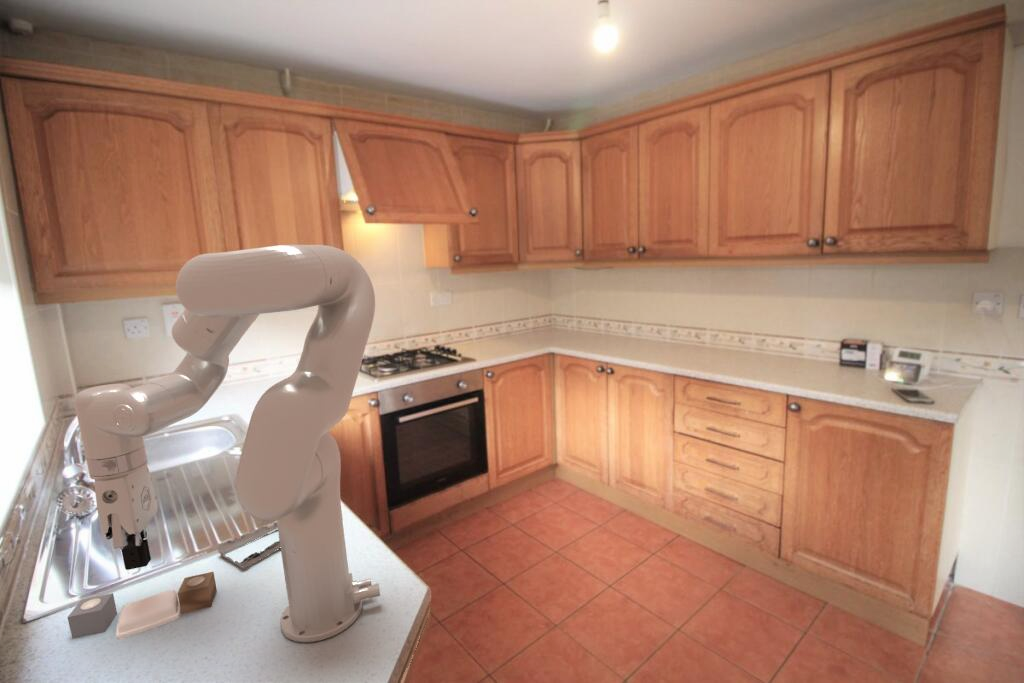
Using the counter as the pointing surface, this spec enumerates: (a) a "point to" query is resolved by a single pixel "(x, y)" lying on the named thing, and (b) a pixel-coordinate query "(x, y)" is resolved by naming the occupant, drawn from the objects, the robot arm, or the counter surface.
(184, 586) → the walnut block
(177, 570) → the counter surface
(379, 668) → the counter surface
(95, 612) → the slate grey block
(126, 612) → the soap
